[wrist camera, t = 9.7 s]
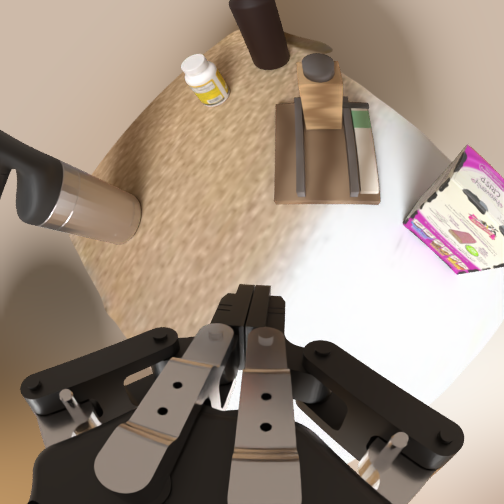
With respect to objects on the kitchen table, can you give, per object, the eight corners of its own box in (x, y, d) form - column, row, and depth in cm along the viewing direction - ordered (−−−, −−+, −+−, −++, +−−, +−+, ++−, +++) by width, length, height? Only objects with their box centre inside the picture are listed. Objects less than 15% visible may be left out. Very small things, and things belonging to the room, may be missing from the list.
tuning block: (306, 129, 35) (296, 75, 24) (305, 108, 35) (294, 53, 24) (368, 129, 33) (378, 76, 22) (364, 108, 33) (370, 53, 22)
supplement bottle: (213, 83, 43) (191, 49, 33) (236, 89, 41) (216, 52, 32) (196, 104, 43) (170, 71, 33) (218, 111, 41) (194, 76, 32)
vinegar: (261, 47, 41) (229, -31, 22) (294, 50, 39) (271, -35, 20) (248, 69, 41) (208, -14, 22) (283, 73, 39) (254, -19, 20)
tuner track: (276, 204, 37) (271, 196, 33) (277, 109, 39) (273, 96, 35) (378, 204, 33) (383, 196, 30) (365, 108, 35) (367, 94, 32)
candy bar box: (472, 247, 29) (543, 223, 13) (456, 275, 29) (529, 266, 13) (417, 196, 32) (468, 140, 16) (400, 223, 32) (449, 178, 16)
